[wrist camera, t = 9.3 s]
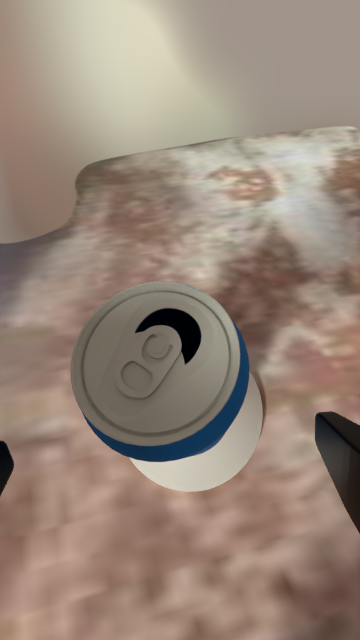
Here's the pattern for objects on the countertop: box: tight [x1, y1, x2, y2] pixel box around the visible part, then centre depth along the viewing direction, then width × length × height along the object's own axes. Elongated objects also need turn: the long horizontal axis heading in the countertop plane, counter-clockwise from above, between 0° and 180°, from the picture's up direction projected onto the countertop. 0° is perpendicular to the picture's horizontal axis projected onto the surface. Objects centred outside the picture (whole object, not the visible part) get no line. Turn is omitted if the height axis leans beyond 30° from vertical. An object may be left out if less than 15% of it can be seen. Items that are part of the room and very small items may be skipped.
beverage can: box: [71, 281, 249, 462], centre depth 13 cm, size 6×6×12 cm
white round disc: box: [129, 371, 263, 492], centre depth 19 cm, size 11×11×1 cm
